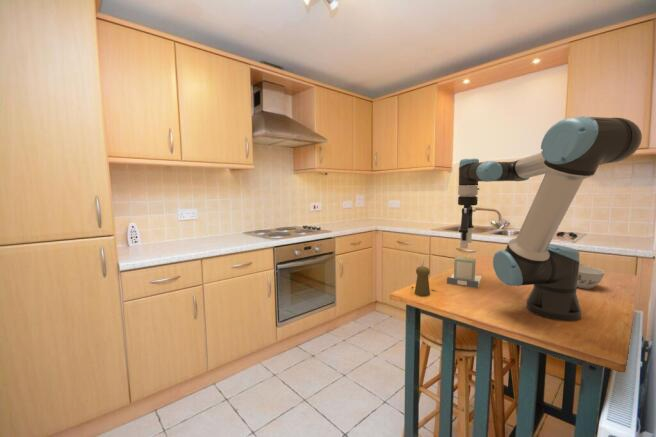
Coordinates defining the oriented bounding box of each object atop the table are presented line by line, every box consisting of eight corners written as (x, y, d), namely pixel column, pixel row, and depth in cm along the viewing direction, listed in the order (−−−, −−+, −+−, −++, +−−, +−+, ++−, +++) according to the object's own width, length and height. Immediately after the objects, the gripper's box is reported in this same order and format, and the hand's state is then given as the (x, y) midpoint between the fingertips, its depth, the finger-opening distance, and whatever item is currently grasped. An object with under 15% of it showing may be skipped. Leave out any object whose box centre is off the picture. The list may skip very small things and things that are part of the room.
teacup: (601, 294, 119) (603, 274, 118) (561, 286, 128) (563, 268, 127) (603, 284, 130) (605, 266, 129) (567, 278, 138) (568, 261, 137)
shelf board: (477, 291, 124) (478, 282, 124) (446, 286, 130) (447, 277, 130) (481, 278, 140) (481, 270, 139) (453, 274, 146) (453, 267, 145)
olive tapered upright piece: (429, 291, 124) (430, 265, 123) (430, 297, 119) (431, 269, 117) (414, 290, 126) (415, 264, 125) (414, 295, 120) (415, 268, 119)
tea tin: (453, 281, 133) (454, 259, 132) (455, 278, 137) (456, 256, 135) (473, 284, 129) (474, 261, 128) (474, 281, 133) (475, 259, 131)
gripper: (474, 197, 116) (472, 251, 118) (480, 194, 137) (478, 241, 139) (453, 197, 120) (451, 249, 122) (462, 194, 141) (460, 239, 143)
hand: (466, 245), depth 131 cm, fingers open, 13 cm apart
